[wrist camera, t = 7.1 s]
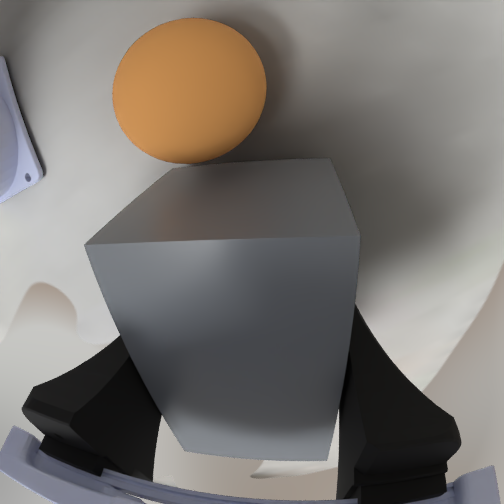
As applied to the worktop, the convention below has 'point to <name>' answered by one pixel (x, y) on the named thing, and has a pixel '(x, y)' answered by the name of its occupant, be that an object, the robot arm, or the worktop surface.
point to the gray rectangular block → (237, 302)
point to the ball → (189, 90)
